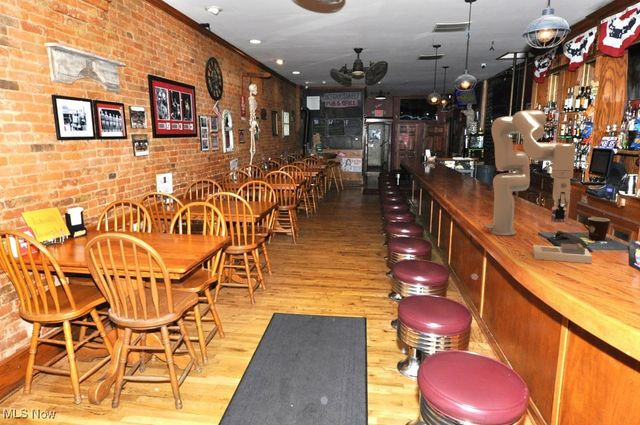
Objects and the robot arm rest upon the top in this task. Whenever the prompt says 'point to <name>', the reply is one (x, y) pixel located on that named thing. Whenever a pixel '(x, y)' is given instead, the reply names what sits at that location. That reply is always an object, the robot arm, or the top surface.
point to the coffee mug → (597, 228)
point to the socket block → (560, 254)
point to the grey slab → (572, 248)
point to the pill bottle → (553, 220)
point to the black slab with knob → (567, 240)
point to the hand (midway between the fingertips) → (558, 216)
